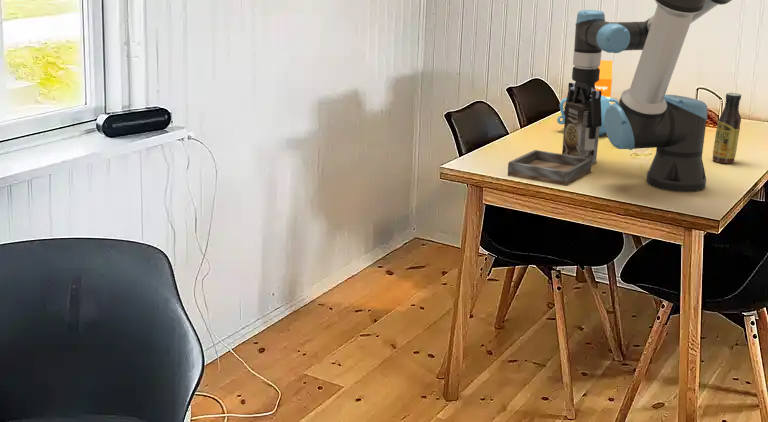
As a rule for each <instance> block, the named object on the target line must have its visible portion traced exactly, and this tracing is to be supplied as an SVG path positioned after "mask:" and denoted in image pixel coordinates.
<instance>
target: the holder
mask: <svg viewBox="0 0 768 422" xmlns="http://www.w3.org/2000/svg"><path fill="white" fill-rule="evenodd" d="M592 164H593V163H592V159H588V158H582V157H575V156H569V155H563V154H562V153H555V152H549V151H545V150H544V151H543V150H537V149H533V150H532V151H530V152H528V153H525V154H522V155H521V156H519V157H517V158H515V159H512V160H511V161H509V162H508V164H507V176H511V175H512V177H517V178H522V179H528V180H535V181H539V182H540V181H541V182H545V183H550V184H551V183H552V184H556V185H562V186H569V184H572V183H574V182H575V181H577V180H579V179H580V178H583V177H584V176H586V175H588V174H589V173H591V172H592Z"/></svg>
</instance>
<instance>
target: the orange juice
mask: <svg viewBox="0 0 768 422" xmlns="http://www.w3.org/2000/svg"><path fill="white" fill-rule="evenodd" d="M598 68H599V69H600V77H599V81H598V82H596V83H595V89H596V90H597V91H601V92H602V94H601V95H603V96H605V97H606V98H607V99H609V98H612V97H611V95H612V85H613V84H612V83H613V60H604V59H603V60H602V59H601V63H600V66H599V67H598ZM609 103H610V104H611V102H609Z"/></svg>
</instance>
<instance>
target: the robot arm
mask: <svg viewBox="0 0 768 422" xmlns="http://www.w3.org/2000/svg"><path fill="white" fill-rule="evenodd" d="M654 1H655V3H656V8H655V12H654V14H653V15H652V16H650V17H649V18H648V19H647V20H645V21H614V22H613V21H611V22H610V21H606V18H605V17H606V16H605V12H604V11H603V10H602V11H601V10H599V9H598V10H597V9H581V10H579V11H578V13H577V15H576V22H575V34H574V48H573V57H572V58H573V59H572V65H573V67H572V72H571V73H572V74H571V79H572V81H573V82H569V83H568V88H567V89H568V90H567V95H566V98H567V100H566V102H565V106H564V108H563V110H564V115H565V110H566V103H567V102H573V103H582V102H583V104H584V105H585V108H591V111H588V118H587V122H588V126H586V135H585V146H584V150H594V144H595V137H596V128H597V127H599V126H601V125H602V119H601V94H602V92H601V91H597V90H596V89H595V83H596V82H598V81H599V77H600V69H599V68H598V67H599V66H600V63H601V60H602V59H601V58H602V51H603V52H606V53H609V54H610V53H611V54H620V53H621V52H624V51H641V54H640V57H639V60H638V63H637V65H636V68H635V72H634V75H633V78H632V82H631V83H630V87H629V88H627V89H625V90H623V91H622V92H621V95H620V98H619V100H618V102H619V103H618V104H616V103H615V102H613V103H612V104H610V106H608V108H607V110H606V112H605V129H606V133H605V134H606V136H607V139H608V141H609V143H610V144H611V145H612V146H613V147H614V148H616V149H619V150H629V151H632V150H637V149H638V150H639V149H649V148H651V149H653V148H656V151H655V155H654V157H653V160H652V162H651V164H650V167H649V169H648V171H647V172H646V179H645V182H646V184H648V185H650V186H651V187H653V188H657V189H659V190H660V189H661V190H664V191H672V192H681V193H682V192H683V193H684V192H685V193H686V192H687V193H689V192H698V191H702V190H703V189H706V185H707V177H706V170H705V167H704V162H703V151H704V143H705V135H706V128H707V127H706V126H707V121H708V105H707V104H706V102H704V101H702V100H699V99H696V98H693V97H688V96H682V95H676V94H666V93H667V90H668V87H669V85H670V82H671V80H672V79H671V78H672V76H673V73H674V70H675V68H676V65H677V63H678V60H679V57H680V54H681V51H682V49H683V45H684V42H685V39H686V36H687V35H688V32H689V29H690V26H691V24H692V23H694V22H695V21H697V20H699V19H700V18H702V16H704V15H705V14H707V13H708V12H709V11H711V10H712V9H714V8H716V7H717V6H718V5H726V4H728V3H730V2H732V0H654ZM591 122H592V123H591Z"/></svg>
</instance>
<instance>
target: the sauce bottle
mask: <svg viewBox="0 0 768 422" xmlns="http://www.w3.org/2000/svg"><path fill="white" fill-rule="evenodd" d="M741 99H742V94H741V93H738V92H727V93H726V95H725V103H724V107H723V110H722V112H721V114H720V116H719V118H718V120H717V125H716V132H715V137H714V144H713V150H712V160H713V161H714V162H716V163H719V164H732V163H735V158H736V156H737V150H738V149H737V148H738V143H739V136H740V132H741V131H740V130H741V123H742V117H741V114H740V112H739V109H740V102H741Z"/></svg>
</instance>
